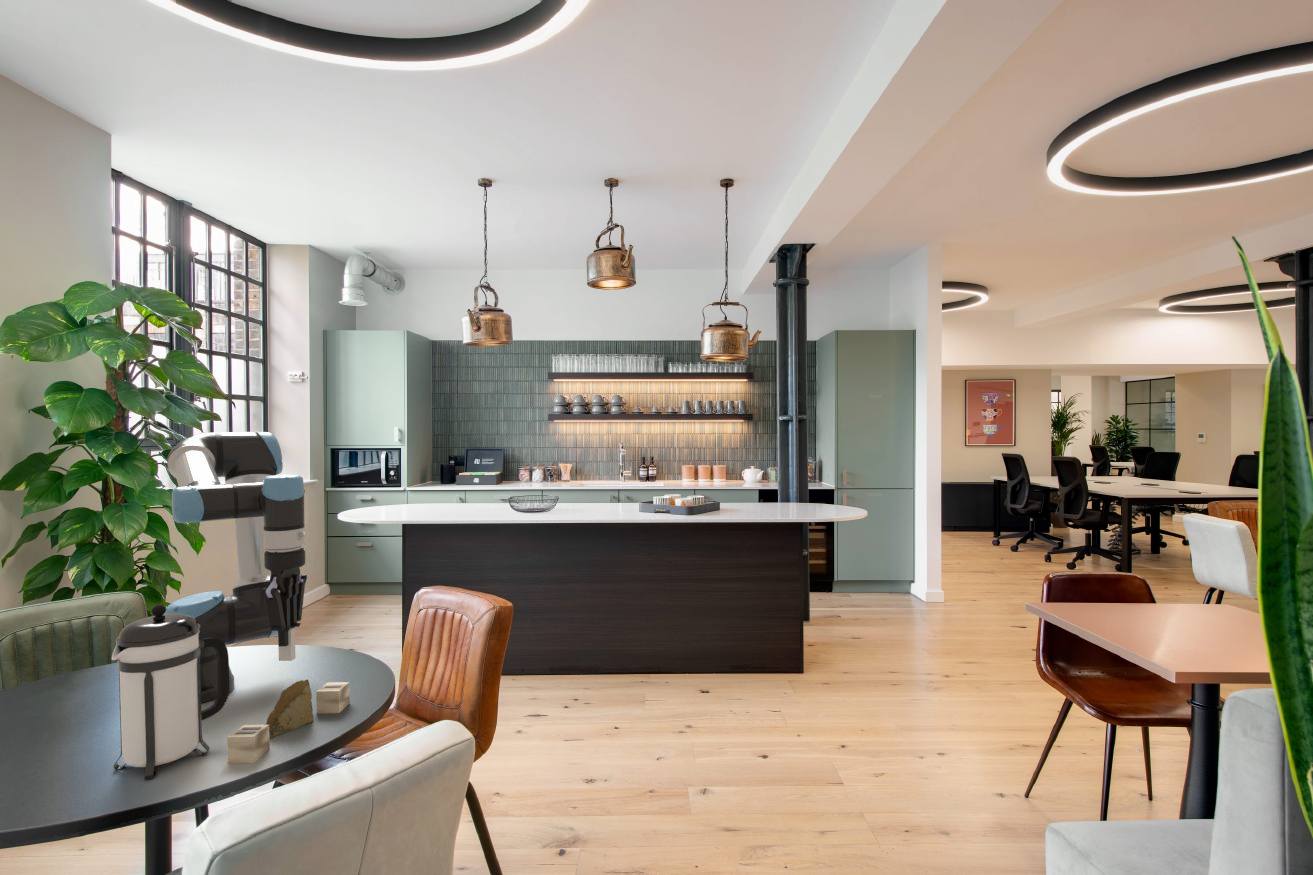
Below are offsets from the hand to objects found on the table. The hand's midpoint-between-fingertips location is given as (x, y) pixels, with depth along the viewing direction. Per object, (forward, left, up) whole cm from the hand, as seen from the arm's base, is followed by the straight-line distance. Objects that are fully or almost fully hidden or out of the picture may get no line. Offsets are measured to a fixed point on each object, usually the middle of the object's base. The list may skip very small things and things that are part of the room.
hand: (287, 659), depth 138 cm
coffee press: (+12, -16, -15) cm, 25 cm away
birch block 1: (+12, -1, -15) cm, 19 cm away
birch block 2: (-9, +5, -15) cm, 18 cm away
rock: (0, 0, -15) cm, 15 cm away
